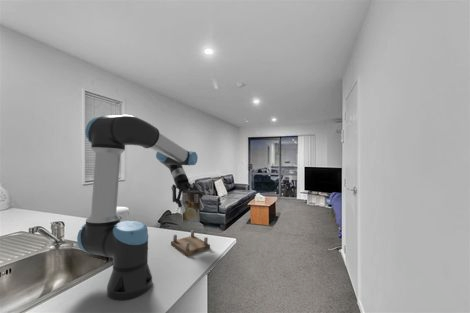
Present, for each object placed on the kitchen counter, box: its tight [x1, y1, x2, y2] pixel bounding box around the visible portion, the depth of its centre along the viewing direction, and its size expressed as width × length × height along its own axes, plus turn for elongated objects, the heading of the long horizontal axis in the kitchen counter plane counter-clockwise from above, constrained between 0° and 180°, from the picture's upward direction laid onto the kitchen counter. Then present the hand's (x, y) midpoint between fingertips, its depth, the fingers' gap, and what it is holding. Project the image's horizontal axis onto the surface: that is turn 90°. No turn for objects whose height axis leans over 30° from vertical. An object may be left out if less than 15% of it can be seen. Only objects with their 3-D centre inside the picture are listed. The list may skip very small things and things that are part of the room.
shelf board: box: [170, 230, 211, 257], centre depth 118 cm, size 14×17×6 cm
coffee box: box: [181, 190, 201, 224], centre depth 118 cm, size 9×6×16 cm
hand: (193, 210), depth 116 cm, fingers closed on coffee box, 10 cm apart
